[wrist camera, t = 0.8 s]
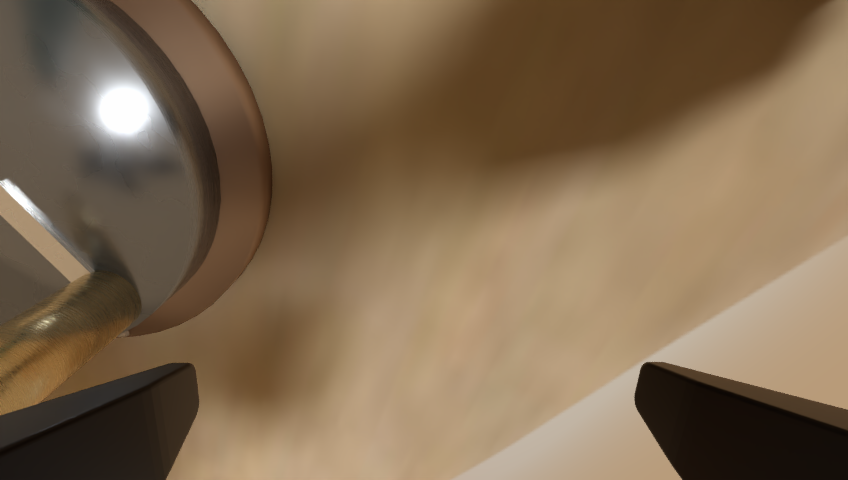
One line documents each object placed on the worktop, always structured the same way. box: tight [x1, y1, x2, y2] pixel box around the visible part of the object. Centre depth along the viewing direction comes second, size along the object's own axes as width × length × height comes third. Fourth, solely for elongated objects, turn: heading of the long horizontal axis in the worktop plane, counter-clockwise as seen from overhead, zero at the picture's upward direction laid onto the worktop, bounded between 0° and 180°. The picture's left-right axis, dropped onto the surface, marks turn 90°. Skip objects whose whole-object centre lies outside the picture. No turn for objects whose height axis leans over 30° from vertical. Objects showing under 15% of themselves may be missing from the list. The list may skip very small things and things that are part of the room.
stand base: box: [110, 0, 272, 338], centre depth 19 cm, size 18×18×2 cm
